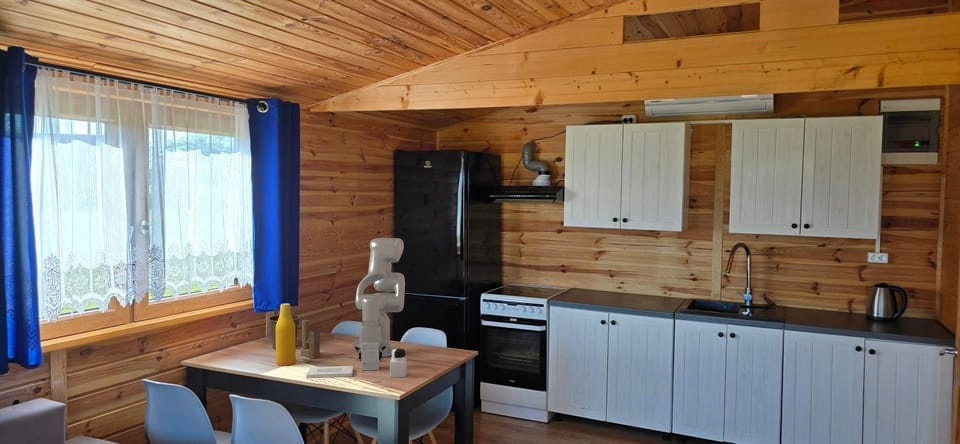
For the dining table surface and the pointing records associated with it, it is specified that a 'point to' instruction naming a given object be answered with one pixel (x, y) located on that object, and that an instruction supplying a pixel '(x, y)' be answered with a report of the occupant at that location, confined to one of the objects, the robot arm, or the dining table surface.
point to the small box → (370, 356)
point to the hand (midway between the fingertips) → (370, 359)
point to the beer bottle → (285, 337)
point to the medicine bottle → (398, 363)
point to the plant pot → (273, 323)
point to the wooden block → (310, 341)
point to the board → (330, 372)
